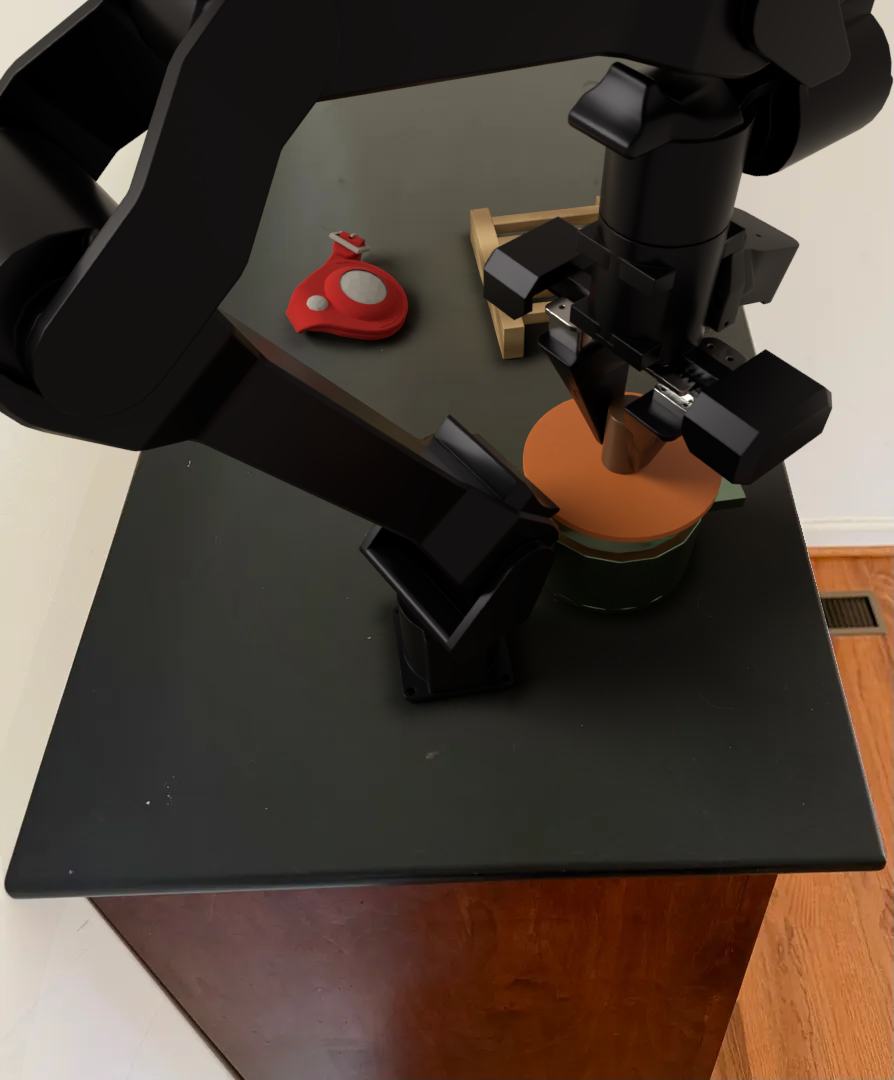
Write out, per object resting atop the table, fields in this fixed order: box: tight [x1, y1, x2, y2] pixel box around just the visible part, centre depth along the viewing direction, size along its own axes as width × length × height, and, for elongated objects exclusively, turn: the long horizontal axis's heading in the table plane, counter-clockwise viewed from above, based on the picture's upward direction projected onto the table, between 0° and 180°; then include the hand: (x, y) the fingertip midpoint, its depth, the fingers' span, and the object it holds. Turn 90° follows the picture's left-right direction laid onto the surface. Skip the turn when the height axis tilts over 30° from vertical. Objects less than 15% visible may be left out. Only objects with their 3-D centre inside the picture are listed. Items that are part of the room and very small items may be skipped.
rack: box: [469, 194, 600, 360], centre depth 74 cm, size 16×13×3 cm
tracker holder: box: [285, 230, 409, 341], centre depth 74 cm, size 12×4×10 cm
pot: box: [543, 477, 747, 615], centre depth 57 cm, size 10×16×6 cm, turn 98°
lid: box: [522, 391, 722, 543], centre depth 51 cm, size 11×11×5 cm
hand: (622, 453), depth 52 cm, fingers closed on lid, 2 cm apart
